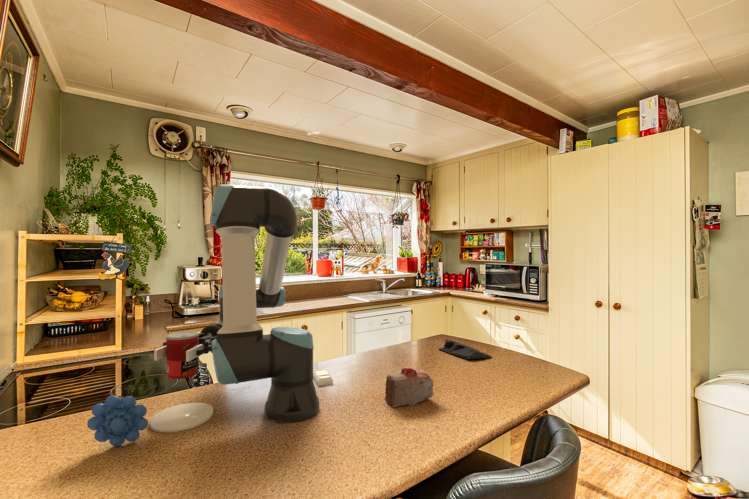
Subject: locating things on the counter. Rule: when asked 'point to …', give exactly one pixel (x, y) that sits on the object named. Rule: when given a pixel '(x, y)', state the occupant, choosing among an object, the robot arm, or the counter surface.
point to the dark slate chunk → (463, 351)
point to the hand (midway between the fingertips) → (171, 355)
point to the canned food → (181, 354)
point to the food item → (408, 387)
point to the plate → (181, 417)
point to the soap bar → (322, 378)
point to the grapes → (118, 420)
